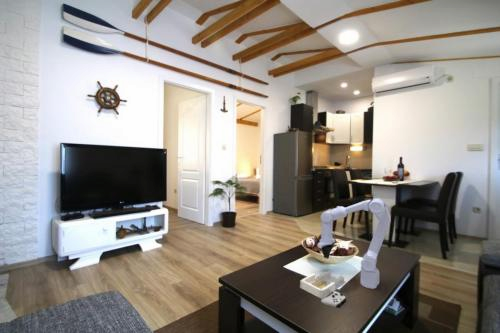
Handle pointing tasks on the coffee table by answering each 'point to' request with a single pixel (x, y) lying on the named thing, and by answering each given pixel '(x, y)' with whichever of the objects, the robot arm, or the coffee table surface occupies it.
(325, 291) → the tray
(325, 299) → the gaming controller
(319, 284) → the chip
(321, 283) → the chip
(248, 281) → the coffee table surface
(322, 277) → the slot block
